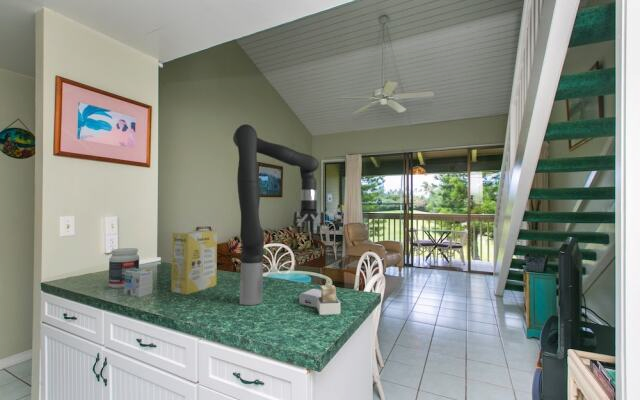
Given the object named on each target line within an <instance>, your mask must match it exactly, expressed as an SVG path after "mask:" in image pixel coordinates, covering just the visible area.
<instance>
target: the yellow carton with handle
mask: <svg viewBox="0 0 640 400" xmlns="http://www.w3.org/2000/svg"><path fill="white" fill-rule="evenodd" d="M171 238H172V239H171V241H172V244H171V287H170V288H171V293H177V294H182V295H190V294H193V293H196V292H199V291H203V290H206V289H208V288H209V289H210V288H212V287H215V285H216V286H217V272H218V271H217V262H218V254H217V253H218V230H217V231H216V230H203V229H202V230H192V231H190V230H189V231H179V232H172V237H171Z"/></svg>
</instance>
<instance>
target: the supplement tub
mask: <svg viewBox="0 0 640 400" xmlns="http://www.w3.org/2000/svg"><path fill="white" fill-rule="evenodd" d="M138 252H139V249H138V248H135V247H124V248H123V247H122V248H115V249H112V250H111V251H110V254H111V256H110V257H109V259H108V260H109V261H108V286H109V287H110V288H113V289H124V282H125V271H128V270H133V269H140V255H139V254H138Z"/></svg>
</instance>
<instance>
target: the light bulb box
mask: <svg viewBox="0 0 640 400" xmlns="http://www.w3.org/2000/svg"><path fill="white" fill-rule="evenodd" d="M153 280H154V270H152V269H143V268H139V269H133V270H128V271H125V282H124V288H123V294H124V295H127V296H130V297H131V296H132V297H137V298H140V297H144V296H148V295H151V294H153V285H154V284H153V283H154V282H153Z"/></svg>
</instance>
